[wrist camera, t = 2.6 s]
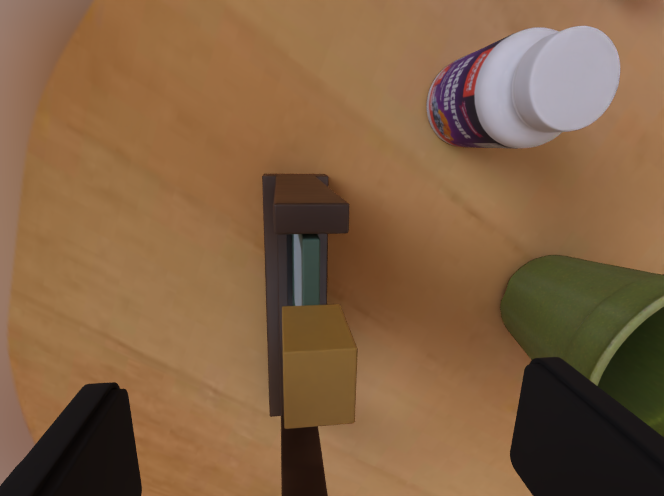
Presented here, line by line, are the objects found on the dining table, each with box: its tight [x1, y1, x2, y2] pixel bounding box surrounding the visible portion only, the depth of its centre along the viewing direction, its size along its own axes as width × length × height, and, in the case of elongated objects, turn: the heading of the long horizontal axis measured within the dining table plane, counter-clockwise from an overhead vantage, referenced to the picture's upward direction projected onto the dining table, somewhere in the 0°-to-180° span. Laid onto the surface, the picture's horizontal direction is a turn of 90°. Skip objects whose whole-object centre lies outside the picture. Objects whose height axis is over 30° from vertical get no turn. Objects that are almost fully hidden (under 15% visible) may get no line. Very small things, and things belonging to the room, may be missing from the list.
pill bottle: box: [427, 26, 620, 149], centre depth 20 cm, size 5×5×10 cm
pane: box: [282, 234, 357, 429], centre depth 17 cm, size 2×7×14 cm, turn 179°
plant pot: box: [500, 255, 664, 437], centre depth 24 cm, size 12×12×11 cm
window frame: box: [262, 174, 349, 496], centre depth 20 cm, size 4×17×13 cm, turn 179°
